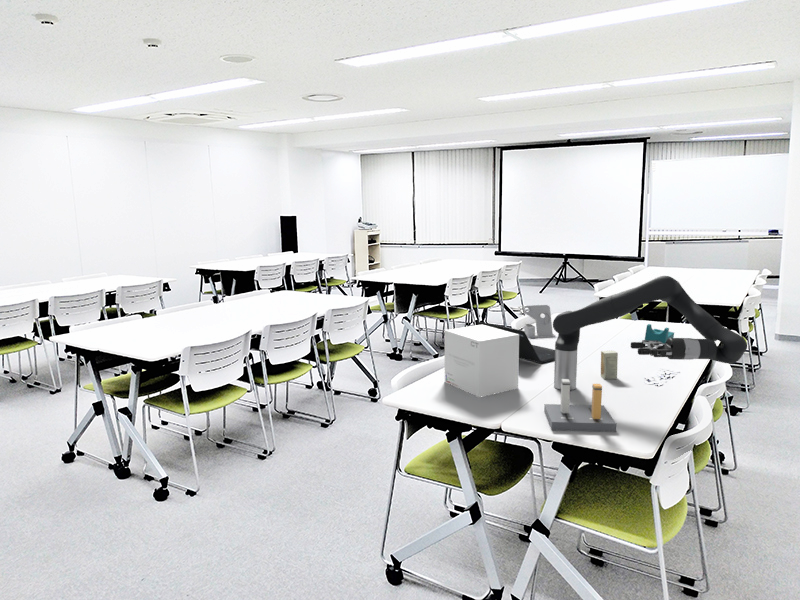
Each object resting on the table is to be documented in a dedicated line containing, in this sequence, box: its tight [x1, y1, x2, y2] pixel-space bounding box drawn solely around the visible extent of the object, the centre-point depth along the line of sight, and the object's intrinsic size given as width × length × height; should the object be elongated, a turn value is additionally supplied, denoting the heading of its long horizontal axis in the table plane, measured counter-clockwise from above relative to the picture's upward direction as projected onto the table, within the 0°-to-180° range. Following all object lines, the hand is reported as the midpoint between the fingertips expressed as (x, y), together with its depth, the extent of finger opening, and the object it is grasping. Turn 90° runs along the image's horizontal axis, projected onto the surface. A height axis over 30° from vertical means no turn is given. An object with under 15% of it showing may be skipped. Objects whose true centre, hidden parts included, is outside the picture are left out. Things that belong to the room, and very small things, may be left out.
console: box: [543, 403, 617, 433], centre depth 204 cm, size 18×22×3 cm
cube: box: [444, 324, 520, 398], centre depth 246 cm, size 25×21×24 cm
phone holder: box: [522, 304, 556, 339], centre depth 338 cm, size 17×10×18 cm, turn 97°
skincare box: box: [600, 350, 619, 380], centre depth 254 cm, size 6×4×12 cm
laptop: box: [476, 320, 555, 364], centre depth 292 cm, size 33×38×19 cm
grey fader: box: [560, 379, 571, 413], centre depth 204 cm, size 3×3×12 cm
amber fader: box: [591, 383, 603, 419], centre depth 198 cm, size 3×3×12 cm
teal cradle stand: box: [644, 323, 675, 343], centre depth 317 cm, size 18×11×10 cm, turn 141°
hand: (634, 348), depth 197 cm, fingers open, 8 cm apart
